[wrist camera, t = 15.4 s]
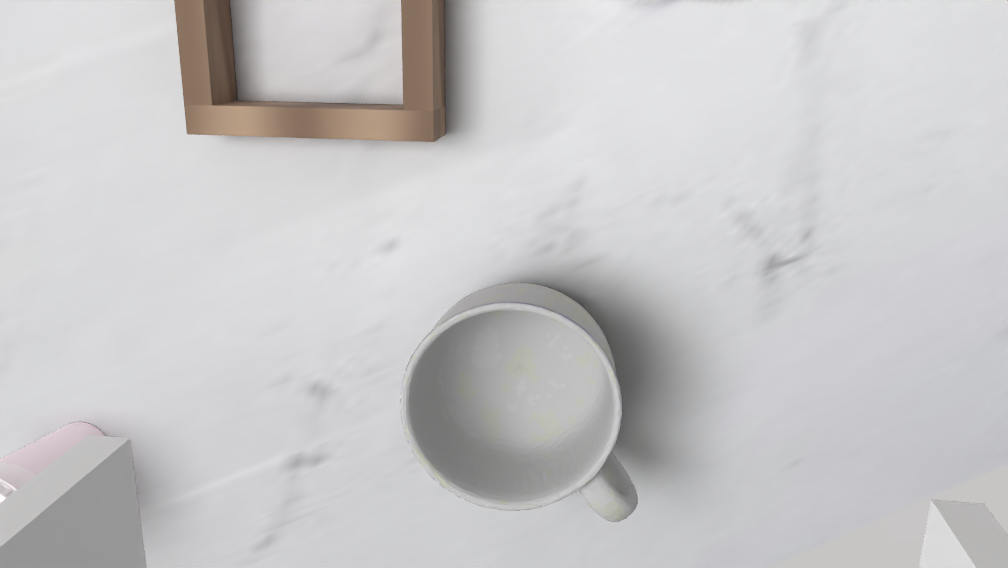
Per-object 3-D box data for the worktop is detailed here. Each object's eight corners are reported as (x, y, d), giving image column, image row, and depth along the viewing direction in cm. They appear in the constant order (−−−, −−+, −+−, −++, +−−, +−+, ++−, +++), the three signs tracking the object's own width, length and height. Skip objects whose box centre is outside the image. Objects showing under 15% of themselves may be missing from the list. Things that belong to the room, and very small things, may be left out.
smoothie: (132, 501, 55) (-24, 653, 41) (39, 483, 55) (-145, 627, 42) (132, 411, 53) (-33, 541, 39) (35, 393, 53) (-159, 515, 40)
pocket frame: (443, -134, 41) (430, -146, 39) (445, 134, 45) (433, 141, 42) (191, -132, 43) (160, -143, 40) (213, 127, 47) (187, 134, 44)
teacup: (396, 323, 49) (355, 378, 41) (554, 224, 46) (541, 264, 38) (530, 509, 51) (514, 593, 44) (688, 426, 48) (700, 501, 41)
